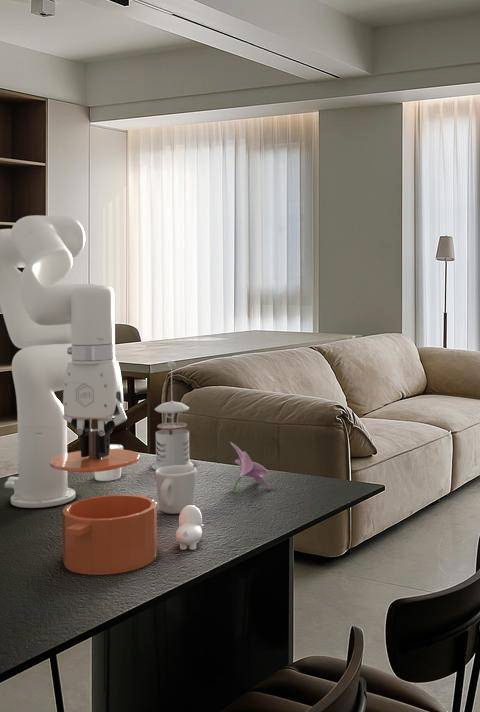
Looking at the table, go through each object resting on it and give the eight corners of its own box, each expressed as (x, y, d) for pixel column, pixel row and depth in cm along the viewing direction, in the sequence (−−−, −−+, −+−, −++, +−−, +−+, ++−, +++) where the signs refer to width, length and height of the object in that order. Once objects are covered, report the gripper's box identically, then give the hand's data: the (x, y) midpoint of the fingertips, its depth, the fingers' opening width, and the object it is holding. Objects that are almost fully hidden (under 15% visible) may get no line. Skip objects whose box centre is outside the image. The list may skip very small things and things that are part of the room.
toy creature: (206, 537, 150) (205, 501, 150) (199, 552, 142) (199, 514, 142) (179, 537, 150) (179, 501, 150) (171, 552, 142) (171, 515, 142)
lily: (268, 503, 174) (284, 458, 177) (214, 482, 173) (232, 437, 177) (261, 506, 185) (276, 464, 189) (210, 486, 184) (227, 444, 188)
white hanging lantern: (153, 472, 197) (152, 364, 197) (149, 461, 209) (148, 358, 208) (196, 469, 200) (194, 362, 200) (189, 458, 211) (188, 357, 211)
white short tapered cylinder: (129, 476, 194) (129, 445, 194) (107, 483, 188) (106, 451, 188) (108, 472, 198) (107, 442, 197) (85, 479, 192) (85, 448, 192)
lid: (30, 471, 149) (30, 436, 149) (84, 453, 164) (83, 420, 164) (107, 477, 144) (107, 440, 144) (155, 457, 159) (155, 424, 159)
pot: (33, 575, 132) (32, 520, 132) (107, 535, 151) (106, 487, 151) (114, 585, 127) (114, 528, 127) (180, 543, 146) (180, 494, 146)
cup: (183, 522, 159) (182, 479, 159) (142, 520, 160) (142, 477, 160) (203, 506, 169) (202, 465, 169) (165, 504, 171) (164, 464, 171)
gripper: (42, 355, 153) (44, 458, 153) (120, 357, 148) (122, 463, 148) (68, 351, 160) (70, 449, 160) (143, 352, 155) (145, 454, 155)
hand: (95, 455), depth 154 cm, fingers closed on lid, 2 cm apart
